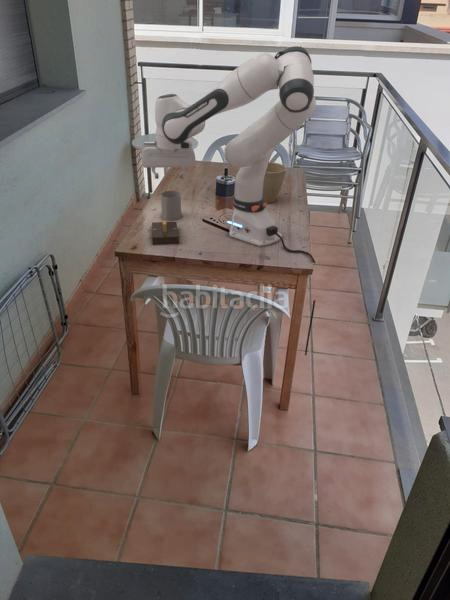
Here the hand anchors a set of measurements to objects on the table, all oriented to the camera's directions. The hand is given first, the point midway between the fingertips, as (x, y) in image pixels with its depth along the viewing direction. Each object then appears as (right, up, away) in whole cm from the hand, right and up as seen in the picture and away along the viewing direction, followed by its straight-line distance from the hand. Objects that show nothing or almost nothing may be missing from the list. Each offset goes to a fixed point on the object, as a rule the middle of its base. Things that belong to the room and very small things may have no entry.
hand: (169, 178), depth 180 cm
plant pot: (+41, 0, +42) cm, 59 cm away
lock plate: (-2, -21, +7) cm, 23 cm away
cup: (-2, -11, +24) cm, 26 cm away
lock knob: (-2, -19, +5) cm, 20 cm away
